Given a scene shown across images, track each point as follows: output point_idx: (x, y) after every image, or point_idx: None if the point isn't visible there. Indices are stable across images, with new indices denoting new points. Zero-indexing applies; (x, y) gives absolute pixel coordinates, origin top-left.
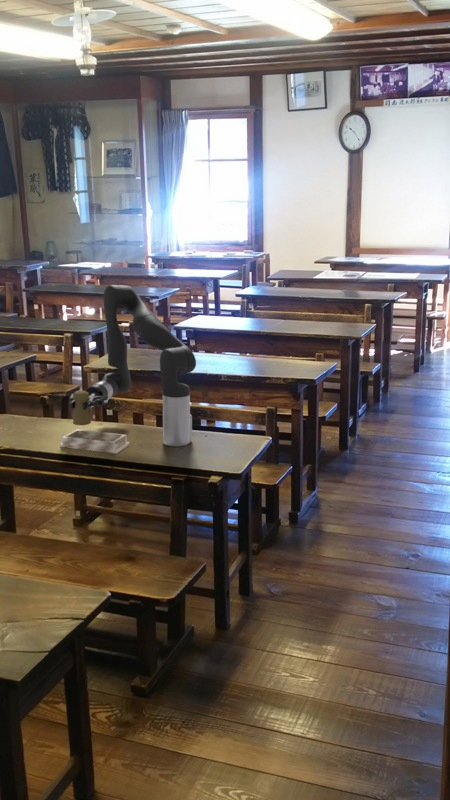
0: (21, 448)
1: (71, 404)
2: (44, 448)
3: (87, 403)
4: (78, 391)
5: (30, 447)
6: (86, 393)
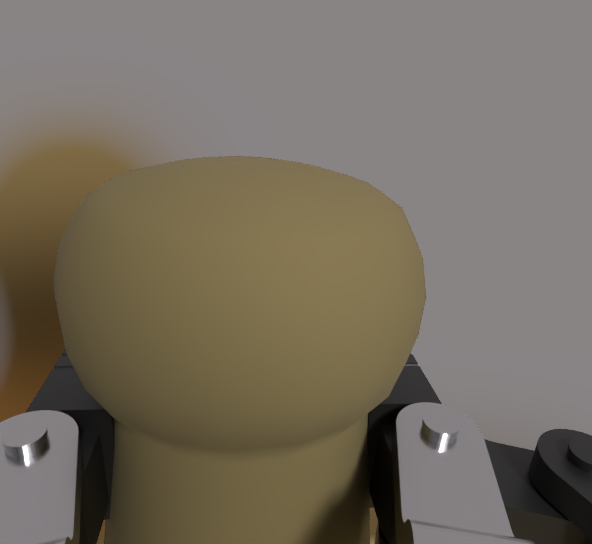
0: None
1: None
2: None
3: None
4: (292, 162)
5: None
6: (92, 192)
